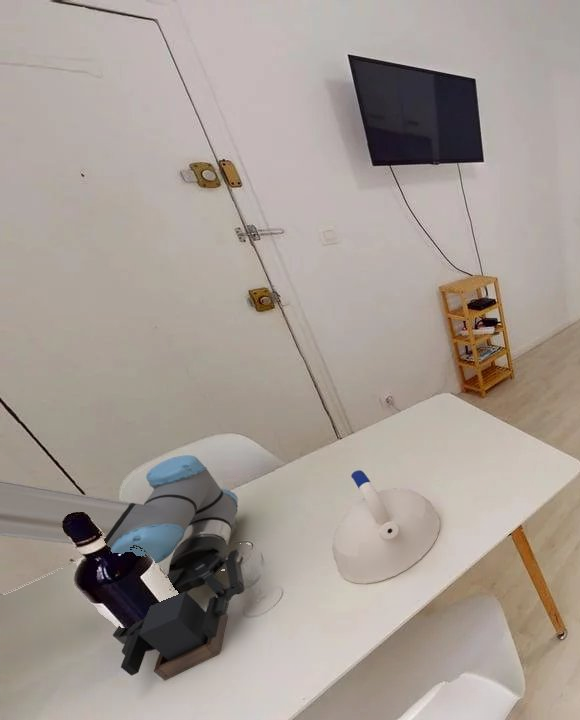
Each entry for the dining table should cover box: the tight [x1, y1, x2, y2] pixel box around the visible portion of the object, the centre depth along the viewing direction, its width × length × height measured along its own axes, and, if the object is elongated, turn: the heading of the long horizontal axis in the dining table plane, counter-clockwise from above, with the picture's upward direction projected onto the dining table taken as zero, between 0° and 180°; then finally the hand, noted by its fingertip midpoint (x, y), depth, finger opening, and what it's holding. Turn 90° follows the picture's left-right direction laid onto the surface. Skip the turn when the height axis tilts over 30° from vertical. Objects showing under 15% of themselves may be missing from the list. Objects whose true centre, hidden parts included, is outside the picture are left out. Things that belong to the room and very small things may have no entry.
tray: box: [153, 613, 229, 681], centre depth 72 cm, size 7×8×3 cm
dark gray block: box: [139, 591, 208, 661], centre depth 70 cm, size 4×6×10 cm
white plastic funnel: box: [331, 469, 441, 585], centre depth 86 cm, size 20×21×18 cm
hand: (170, 651), depth 66 cm, fingers open, 9 cm apart
